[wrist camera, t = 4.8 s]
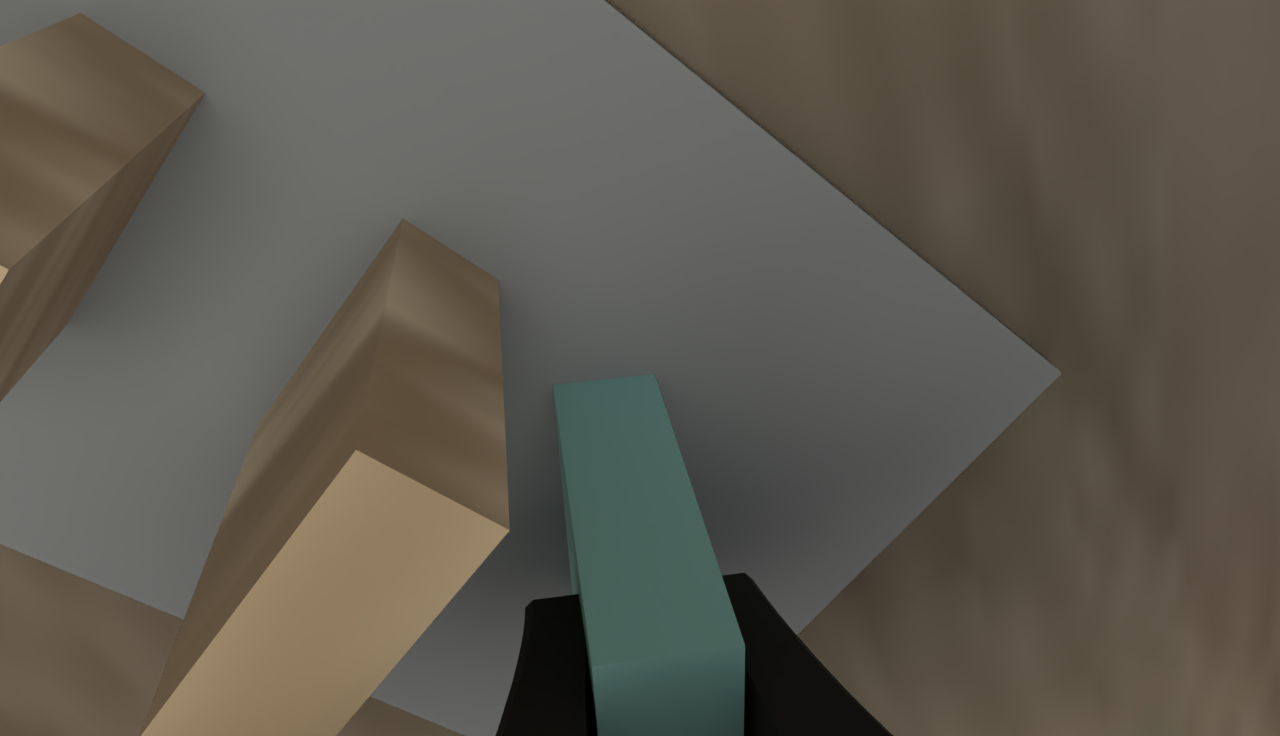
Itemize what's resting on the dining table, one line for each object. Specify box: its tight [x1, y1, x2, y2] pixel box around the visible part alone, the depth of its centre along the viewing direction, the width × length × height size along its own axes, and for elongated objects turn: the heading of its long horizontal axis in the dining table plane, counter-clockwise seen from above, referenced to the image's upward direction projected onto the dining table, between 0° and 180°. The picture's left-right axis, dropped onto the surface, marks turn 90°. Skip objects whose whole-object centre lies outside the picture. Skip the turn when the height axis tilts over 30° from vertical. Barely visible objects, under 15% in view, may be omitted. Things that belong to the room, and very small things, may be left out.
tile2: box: [139, 219, 510, 736], centre depth 12 cm, size 2×4×6 cm, turn 141°
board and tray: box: [0, 0, 1062, 736], centre depth 16 cm, size 56×15×4 cm, turn 52°
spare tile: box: [553, 374, 745, 736], centre depth 14 cm, size 2×4×6 cm, turn 2°
